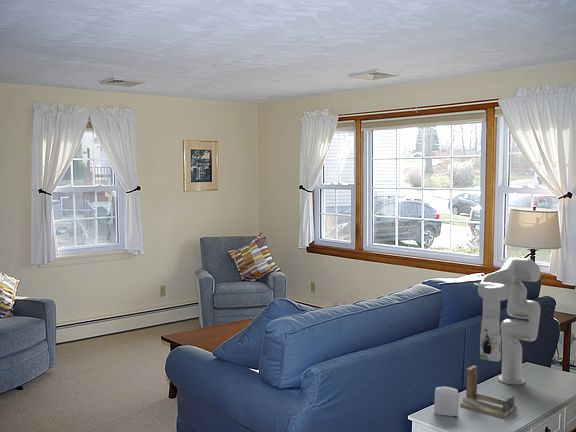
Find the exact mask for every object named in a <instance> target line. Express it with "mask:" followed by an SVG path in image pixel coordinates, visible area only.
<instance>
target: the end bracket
mask: <svg viewBox="0 0 576 432" xmlns="http://www.w3.org/2000/svg"><path fill="white" fill-rule="evenodd" d="M477 393H478V365H471V366H469V367H467V368H466V396H465V397H469V398H472V399H476V398H477Z"/></svg>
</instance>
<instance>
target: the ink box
mask: <svg viewBox="0 0 576 432" xmlns="http://www.w3.org/2000/svg"><path fill="white" fill-rule="evenodd" d="M479 338H480V339H479V340H480V341H479V358H480V360H484V361H491V362H498V363H499V362H500V361H502V334H501V333H499V334H497V335H495V336H493V339H491V342H490V345H491V354H486V353H484V345H483V340H482V338H481V333H480V335H479ZM486 338H489V337H486ZM486 340H487V339H486ZM487 341H489V340H487Z"/></svg>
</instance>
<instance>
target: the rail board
mask: <svg viewBox="0 0 576 432" xmlns="http://www.w3.org/2000/svg"><path fill="white" fill-rule="evenodd" d="M459 406H460V407H463V408H467V409H469V410H470V409H471V410H473V411H477V412H480V413H481V412H482V413H484V414H488V415H491V416H494V417H495V416H496V417H499V418H502V419H503V418H505V417H506V416H508V415H509V414H510V413H512V412H513V411H514V410H516V409H517V405H516V404H515V395H512V394H511V395H509V396H508V397H506V398H505V399H504V398H499V397H495V396H492V395H488V394H484V393H480V392H477V398H476V399H472V398H469V397H466V396H465V395H464V396H462V401H461V402H459Z"/></svg>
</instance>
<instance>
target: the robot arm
mask: <svg viewBox="0 0 576 432" xmlns="http://www.w3.org/2000/svg"><path fill="white" fill-rule="evenodd" d="M541 275H542V271H541V268H540V266H539V265H538V264H537V263H536V262H535V261H534V260H533V259H531V258H526V257H525V258H524V257H508V258H506V259H505V260H504V262H503V263H502V265H501V267H500V268H499V270H497V271H494V272H492V273H489V274H486V275H485V276H484V277H483V278H482V279H481V281H480V283H479V285H478V288H477V293H478V296H479V297H480V298H482V319H481V326H480V327H481V328H480V334H481V338H482V340H483V345H484V353H486V354H491V345H490V342H491V339H493V336H495V335H497V334H500V335H501V375H499V376H498V378H497V379H498V381H499V382H500V383H503V384H505V385H510V386H511V385H512V386H513V385H514V386H519V385H520V386H521V385H523V384H524V383H526V380H525V378H524V377H522V375H523V373H524V370H523V368H522V367H523V346H522V343H521V342H520V340H521V341H527V342H534V341H536V339H537V338H538V334H539V333H538V332H539V327H540V326H539V325H540V319H541V305H540V303H539V302H538V301H536V300H533V299H532V300H531V299H527V296H528V295H527V294H528V289H527V287H526V286H525V285H524V283H523V282H532V283H533V282H535V283H536V282H538V281H539V280H540V279H541ZM522 281H523V282H522ZM501 301H507V304H506V314H507V315H508V316H509V317H513V318H517V319H513V318H506V319H504V320H502V321H501V323H500V317H501ZM521 319H526V320H521ZM486 337H489V338H486ZM486 339H487V340H489V341H487V340H486Z"/></svg>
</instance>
